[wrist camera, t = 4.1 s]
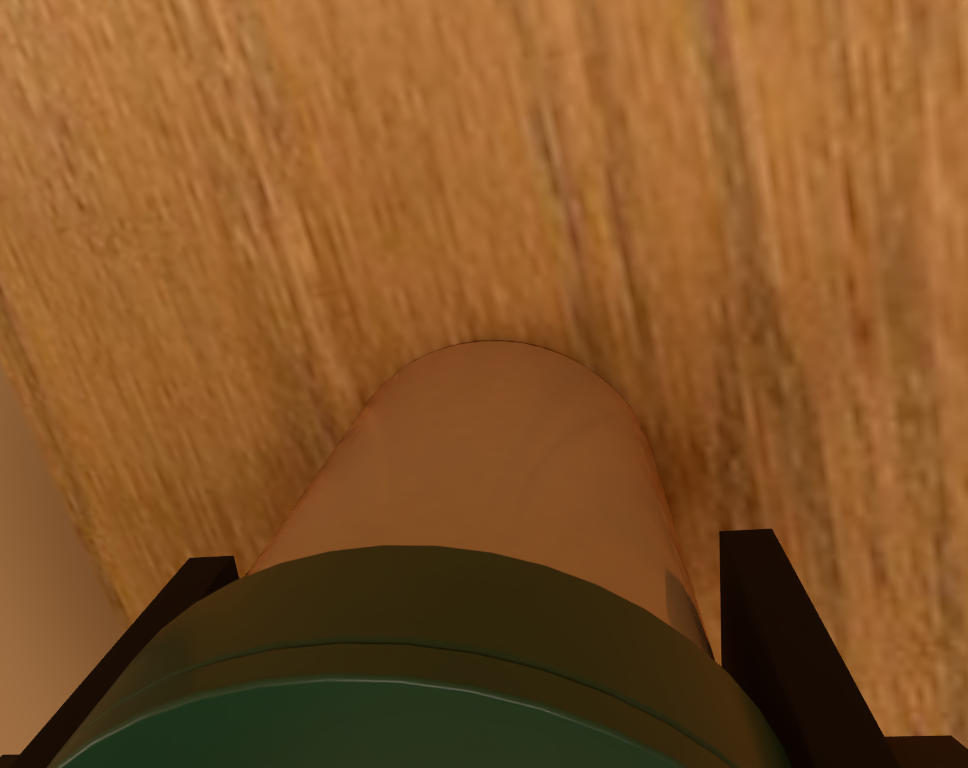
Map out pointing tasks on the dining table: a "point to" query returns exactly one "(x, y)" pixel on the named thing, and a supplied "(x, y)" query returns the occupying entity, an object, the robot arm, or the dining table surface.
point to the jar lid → (421, 675)
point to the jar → (502, 477)
